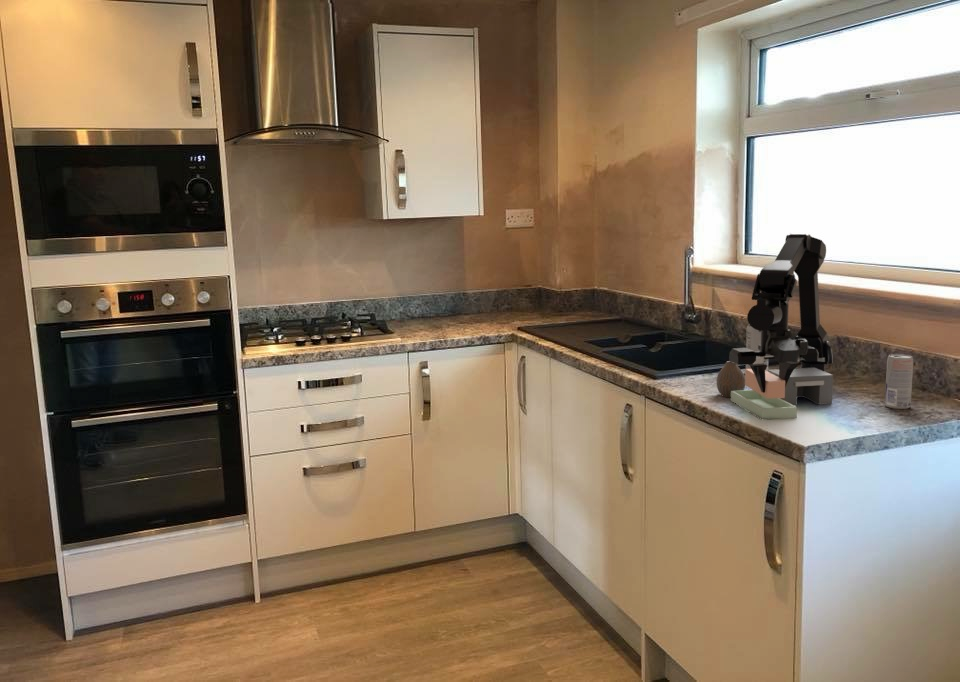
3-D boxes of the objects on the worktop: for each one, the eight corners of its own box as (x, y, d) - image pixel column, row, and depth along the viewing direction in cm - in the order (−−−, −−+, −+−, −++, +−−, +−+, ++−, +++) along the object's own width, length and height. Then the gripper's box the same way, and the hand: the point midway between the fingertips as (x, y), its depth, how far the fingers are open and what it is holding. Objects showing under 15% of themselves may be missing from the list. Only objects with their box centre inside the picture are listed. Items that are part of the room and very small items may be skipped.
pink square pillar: (744, 385, 195) (745, 368, 195) (761, 384, 195) (761, 368, 195) (767, 398, 181) (767, 381, 181) (784, 398, 182) (785, 380, 181)
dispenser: (767, 397, 200) (767, 369, 199) (813, 394, 201) (814, 367, 200) (784, 406, 191) (785, 377, 189) (833, 404, 192) (834, 375, 190)
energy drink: (902, 403, 190) (905, 353, 188) (915, 408, 185) (918, 357, 183) (880, 404, 190) (882, 354, 188) (892, 409, 185) (895, 358, 183)
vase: (710, 394, 205) (711, 361, 203) (732, 391, 207) (732, 358, 206) (728, 400, 198) (729, 365, 197) (750, 397, 201) (751, 362, 200)
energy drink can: (765, 377, 223) (766, 323, 220) (743, 375, 226) (744, 322, 223) (770, 372, 228) (771, 320, 225) (748, 371, 231) (749, 319, 228)
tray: (730, 400, 198) (730, 390, 197) (761, 399, 198) (762, 389, 198) (762, 419, 180) (762, 408, 180) (796, 417, 181) (796, 407, 180)
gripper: (749, 331, 172) (747, 402, 175) (832, 327, 174) (829, 397, 176) (728, 324, 183) (727, 390, 186) (807, 320, 185) (805, 386, 187)
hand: (772, 391), depth 183 cm, fingers closed on pink square pillar, 4 cm apart
